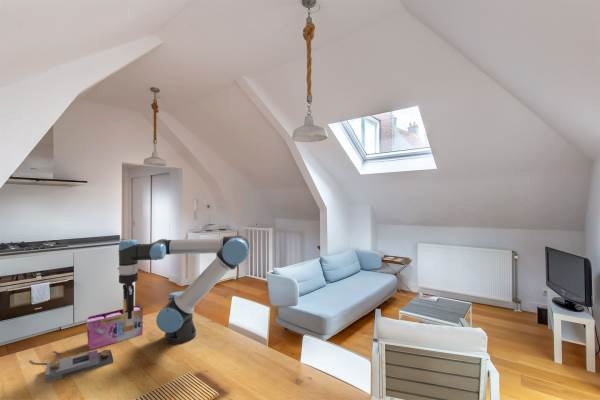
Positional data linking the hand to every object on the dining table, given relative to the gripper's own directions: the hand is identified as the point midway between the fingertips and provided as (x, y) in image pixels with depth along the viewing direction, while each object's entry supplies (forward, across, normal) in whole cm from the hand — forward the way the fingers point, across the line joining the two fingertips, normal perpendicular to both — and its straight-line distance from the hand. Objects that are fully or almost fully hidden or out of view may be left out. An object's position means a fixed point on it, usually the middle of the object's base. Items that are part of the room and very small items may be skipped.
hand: (128, 323), depth 131 cm
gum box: (+14, -19, -3) cm, 24 cm away
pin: (+3, 0, 0) cm, 3 cm away
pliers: (+14, -13, -26) cm, 32 cm away
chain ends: (+14, 0, -18) cm, 22 cm away
